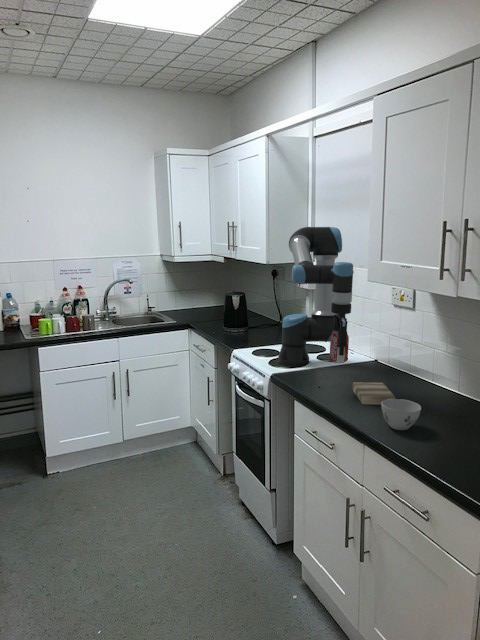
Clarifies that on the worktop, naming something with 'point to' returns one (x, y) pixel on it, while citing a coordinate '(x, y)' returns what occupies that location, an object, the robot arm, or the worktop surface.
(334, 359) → the soda can
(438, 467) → the worktop surface
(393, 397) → the serving board
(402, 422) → the teacup
